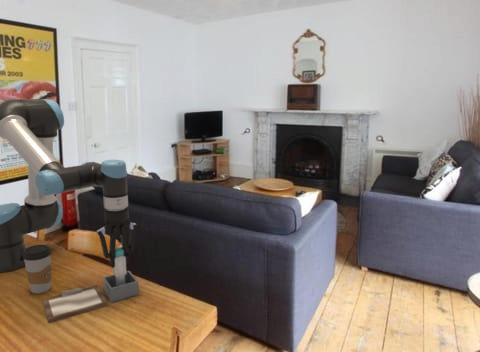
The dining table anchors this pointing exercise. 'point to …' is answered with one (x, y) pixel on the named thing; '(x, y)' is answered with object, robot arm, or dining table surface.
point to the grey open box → (120, 287)
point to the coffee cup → (38, 268)
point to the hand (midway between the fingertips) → (120, 273)
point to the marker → (120, 266)
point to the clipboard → (73, 303)
